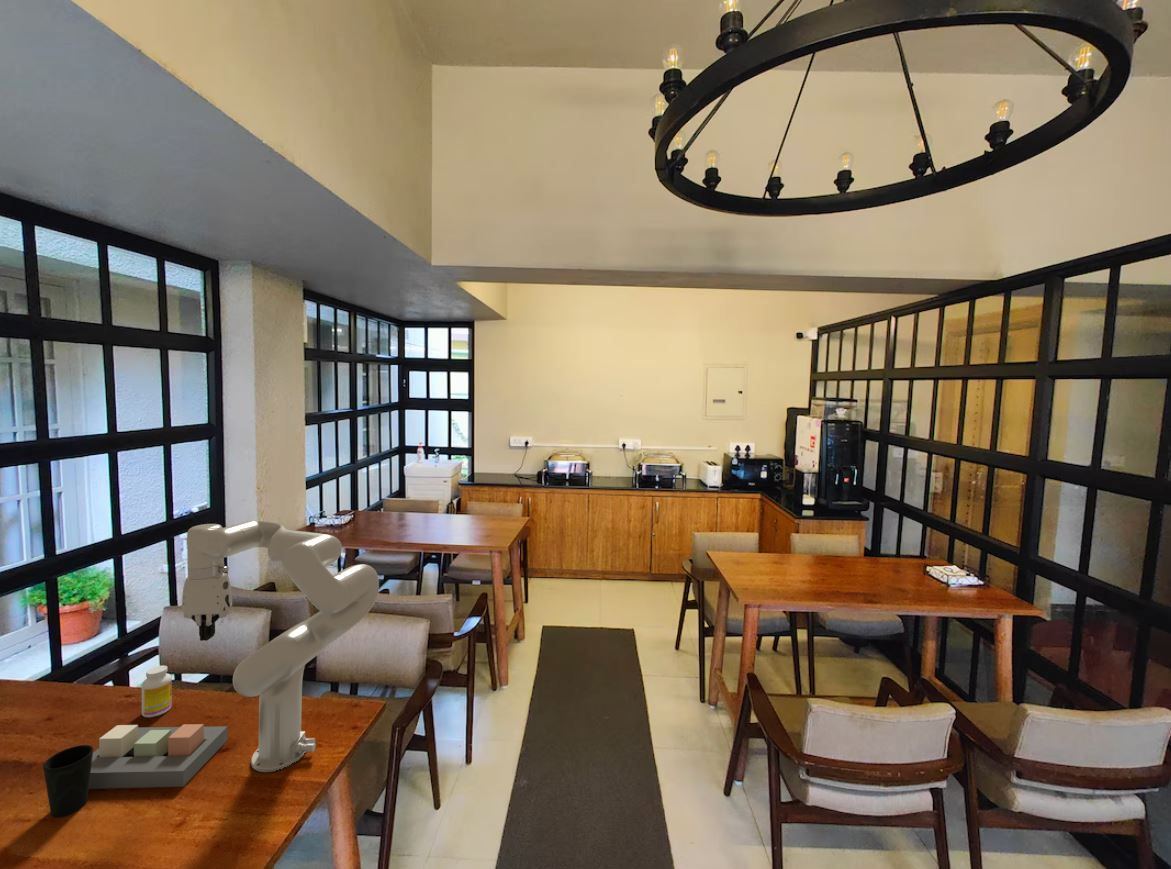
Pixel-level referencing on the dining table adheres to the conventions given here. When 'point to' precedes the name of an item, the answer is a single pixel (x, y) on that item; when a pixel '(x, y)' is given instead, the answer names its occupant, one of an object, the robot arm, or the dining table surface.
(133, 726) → the cream button
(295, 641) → the robot arm
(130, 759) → the console
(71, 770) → the cup
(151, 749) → the green button
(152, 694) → the supplement bottle
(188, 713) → the dining table surface
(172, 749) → the terracotta button
